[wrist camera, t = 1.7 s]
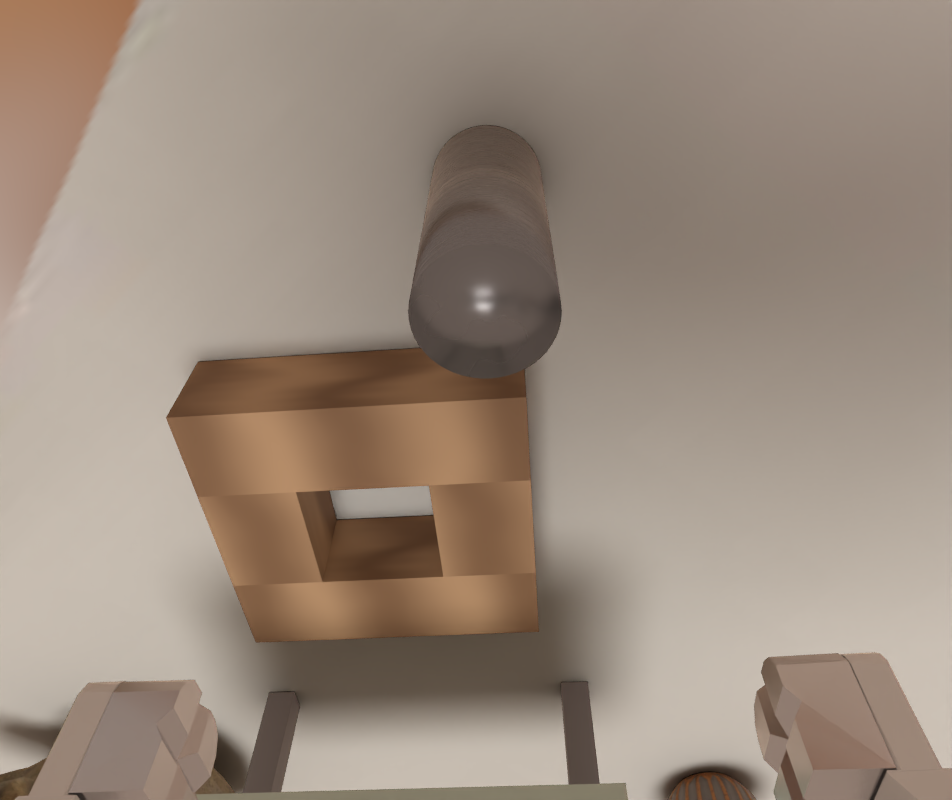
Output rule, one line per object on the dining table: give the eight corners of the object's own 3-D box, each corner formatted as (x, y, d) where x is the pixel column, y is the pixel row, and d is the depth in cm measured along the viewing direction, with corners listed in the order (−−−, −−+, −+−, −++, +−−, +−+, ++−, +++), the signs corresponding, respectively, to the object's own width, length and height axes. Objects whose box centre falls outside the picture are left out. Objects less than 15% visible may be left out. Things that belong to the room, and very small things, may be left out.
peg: (539, 120, 27) (560, 239, 19) (542, 228, 29) (562, 374, 21) (426, 129, 27) (398, 249, 19) (438, 235, 29) (418, 382, 21)
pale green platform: (592, 552, 39) (629, 809, 29) (590, 698, 47) (619, 944, 36) (215, 569, 41) (118, 821, 30) (272, 709, 48) (211, 949, 38)
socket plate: (522, 341, 32) (526, 397, 29) (535, 568, 40) (538, 631, 37) (198, 361, 33) (166, 417, 30) (274, 579, 41) (255, 642, 38)
